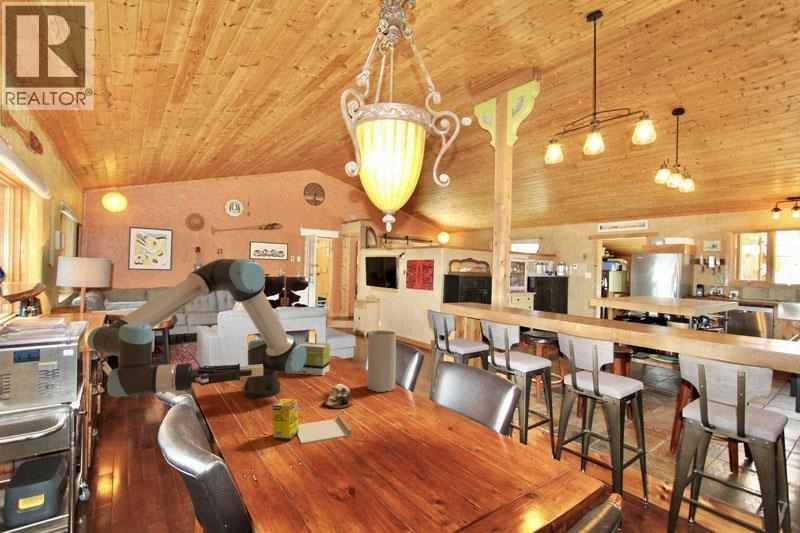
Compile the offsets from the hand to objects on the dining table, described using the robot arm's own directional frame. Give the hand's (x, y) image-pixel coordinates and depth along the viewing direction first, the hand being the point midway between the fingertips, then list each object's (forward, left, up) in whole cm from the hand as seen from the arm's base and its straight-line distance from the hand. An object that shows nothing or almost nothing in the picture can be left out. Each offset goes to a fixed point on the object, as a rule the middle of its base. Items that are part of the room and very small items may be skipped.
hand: (262, 369), depth 118 cm
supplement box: (-3, +7, -22) cm, 23 cm away
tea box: (-77, -3, -22) cm, 80 cm away
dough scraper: (-8, +17, -22) cm, 29 cm away
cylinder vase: (-54, +34, -22) cm, 68 cm away
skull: (-33, +18, -22) cm, 44 cm away
